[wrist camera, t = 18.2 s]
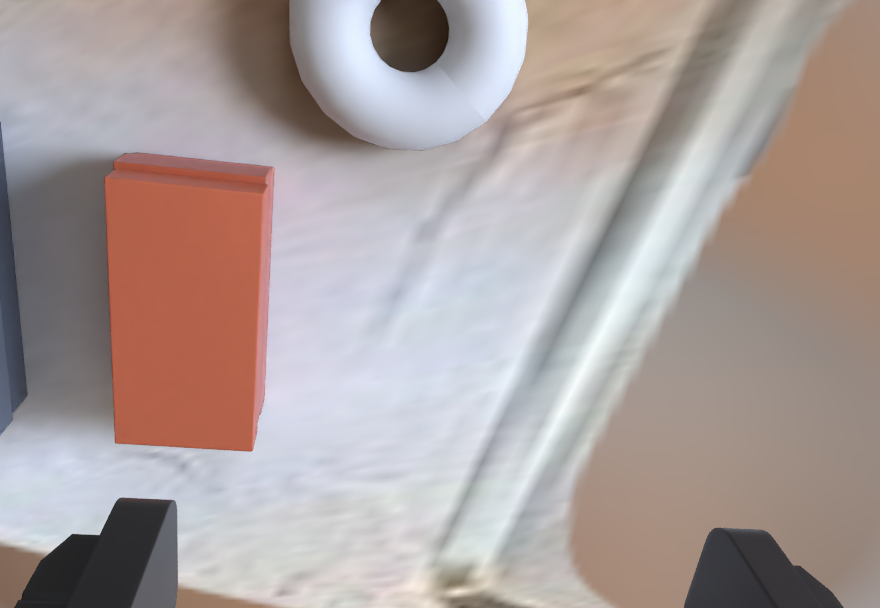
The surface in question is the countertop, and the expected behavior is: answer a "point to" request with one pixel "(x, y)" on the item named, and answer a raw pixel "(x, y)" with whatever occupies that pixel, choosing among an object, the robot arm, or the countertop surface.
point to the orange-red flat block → (224, 173)
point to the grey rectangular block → (9, 316)
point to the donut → (408, 93)
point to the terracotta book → (185, 308)
